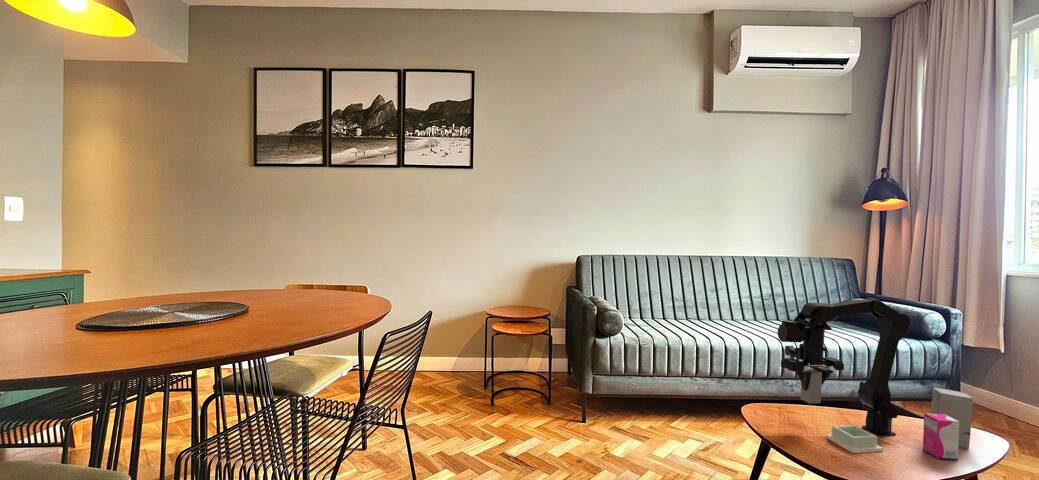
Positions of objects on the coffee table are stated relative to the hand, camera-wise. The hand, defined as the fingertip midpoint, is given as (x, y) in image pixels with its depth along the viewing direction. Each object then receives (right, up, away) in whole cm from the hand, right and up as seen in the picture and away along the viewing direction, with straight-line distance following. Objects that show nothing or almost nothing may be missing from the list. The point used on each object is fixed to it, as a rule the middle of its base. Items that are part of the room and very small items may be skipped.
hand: (810, 390), depth 155 cm
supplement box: (+29, -15, -15) cm, 35 cm away
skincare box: (+39, -14, -6) cm, 42 cm away
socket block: (+7, -14, -9) cm, 18 cm away
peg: (0, -4, 0) cm, 4 cm away
